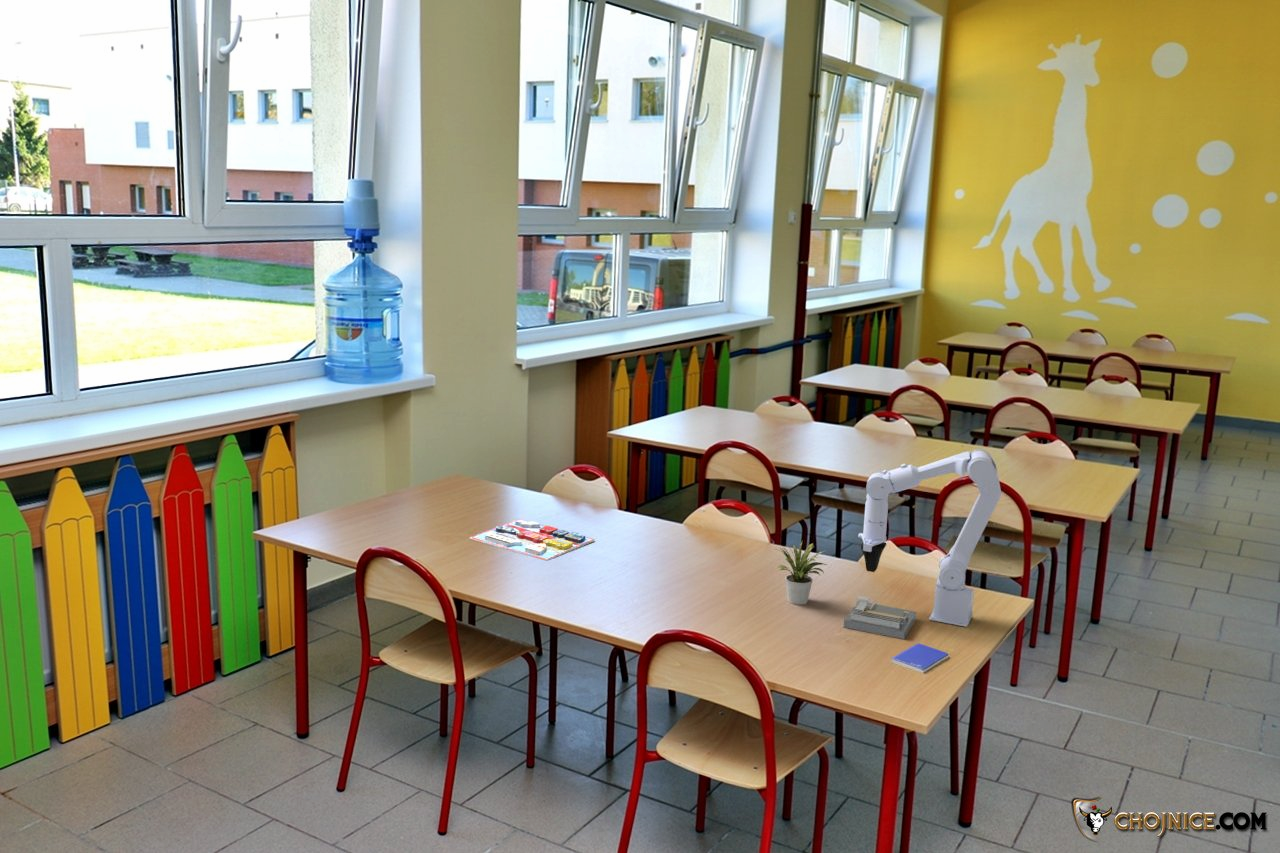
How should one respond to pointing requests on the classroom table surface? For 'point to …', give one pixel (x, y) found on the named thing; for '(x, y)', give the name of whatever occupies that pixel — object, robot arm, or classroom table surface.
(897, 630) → the grey slotted fixture base
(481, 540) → the puzzle board
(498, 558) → the classroom table surface
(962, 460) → the robot arm
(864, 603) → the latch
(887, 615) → the tan rectangular plate
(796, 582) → the house plant
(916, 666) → the hard drive
